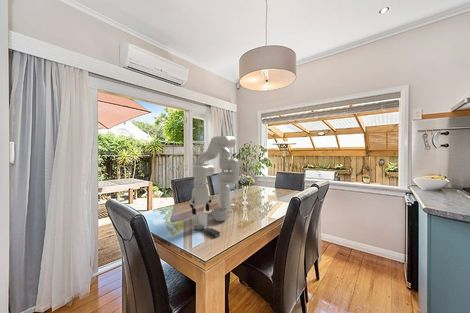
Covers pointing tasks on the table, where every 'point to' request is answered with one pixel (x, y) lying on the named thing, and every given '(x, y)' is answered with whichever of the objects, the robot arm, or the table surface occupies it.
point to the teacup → (219, 213)
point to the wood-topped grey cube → (200, 219)
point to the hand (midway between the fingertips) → (200, 212)
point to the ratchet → (208, 231)
